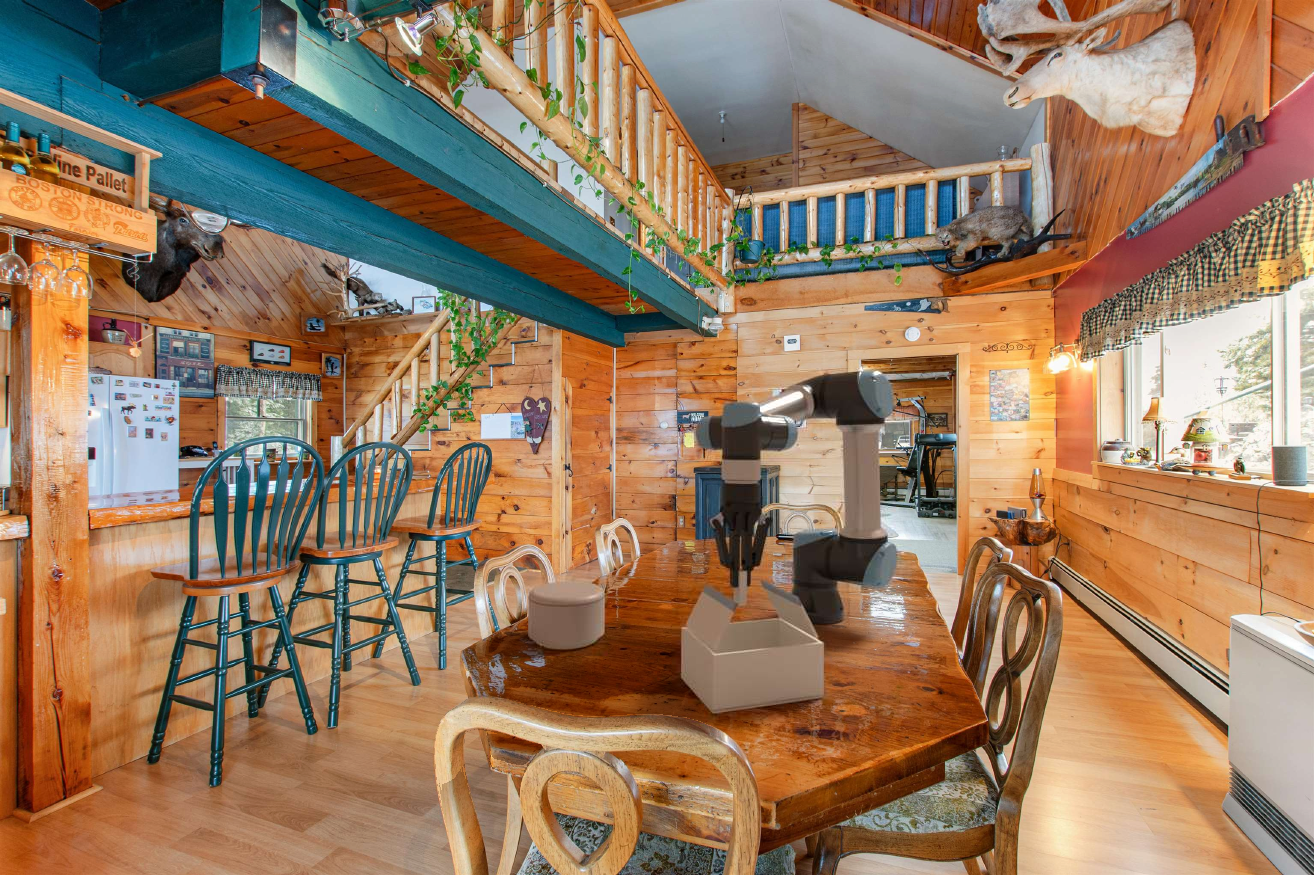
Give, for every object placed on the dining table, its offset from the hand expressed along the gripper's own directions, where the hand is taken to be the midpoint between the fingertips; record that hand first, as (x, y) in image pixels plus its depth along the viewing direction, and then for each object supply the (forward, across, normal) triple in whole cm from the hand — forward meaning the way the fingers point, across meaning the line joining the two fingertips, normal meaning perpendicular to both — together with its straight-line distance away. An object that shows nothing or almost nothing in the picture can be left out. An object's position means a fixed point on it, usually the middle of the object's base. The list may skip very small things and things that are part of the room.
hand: (740, 603), depth 114 cm
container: (+16, +28, -36) cm, 48 cm away
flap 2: (+1, -9, +2) cm, 9 cm away
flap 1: (+1, +7, +2) cm, 7 cm away
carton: (+16, -1, +2) cm, 16 cm away
